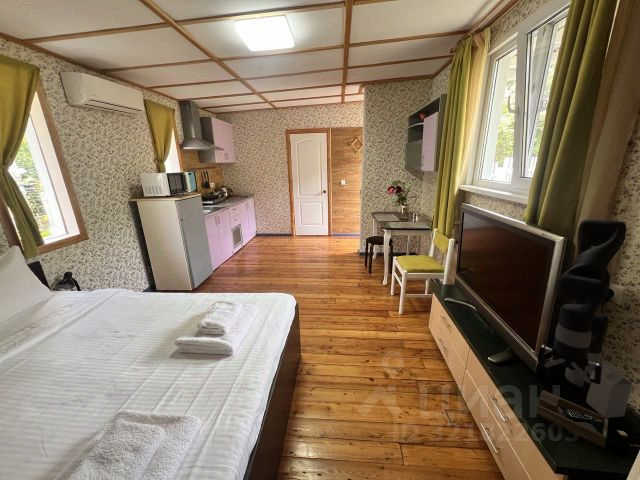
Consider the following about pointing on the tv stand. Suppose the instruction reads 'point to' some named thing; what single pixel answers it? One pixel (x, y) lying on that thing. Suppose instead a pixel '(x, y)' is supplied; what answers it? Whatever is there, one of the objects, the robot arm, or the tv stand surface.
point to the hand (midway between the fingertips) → (565, 382)
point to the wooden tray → (576, 427)
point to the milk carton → (609, 393)
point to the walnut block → (548, 401)
